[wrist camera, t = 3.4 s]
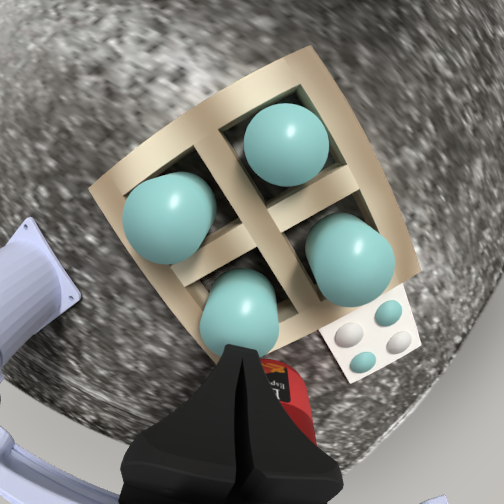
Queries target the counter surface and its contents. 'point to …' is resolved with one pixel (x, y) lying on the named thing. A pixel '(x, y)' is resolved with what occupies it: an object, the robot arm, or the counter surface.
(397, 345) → the tile
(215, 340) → the button
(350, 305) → the button
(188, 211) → the button
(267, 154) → the button
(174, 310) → the wooden compartment tray
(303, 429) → the canned food
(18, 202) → the counter surface
